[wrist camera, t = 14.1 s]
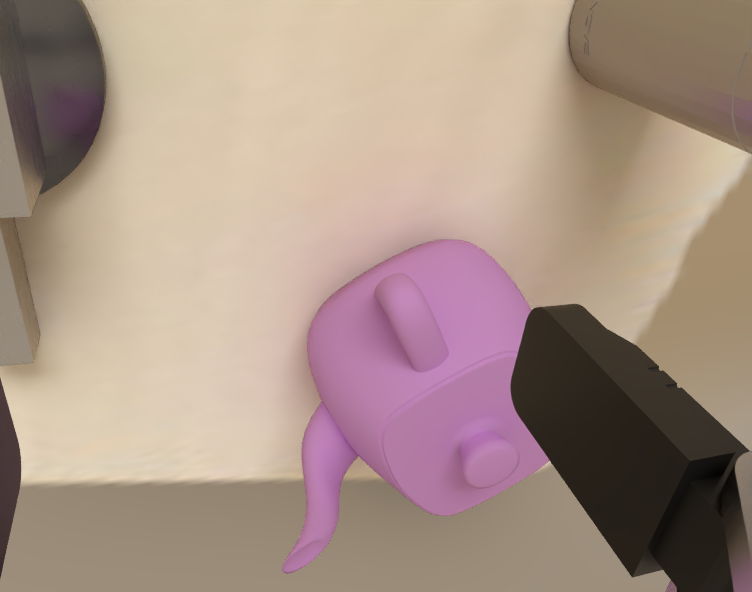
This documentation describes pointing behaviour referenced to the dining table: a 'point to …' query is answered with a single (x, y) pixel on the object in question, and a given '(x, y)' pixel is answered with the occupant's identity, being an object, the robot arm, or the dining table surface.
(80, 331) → the dining table surface
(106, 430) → the dining table surface
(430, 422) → the teapot
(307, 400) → the dining table surface
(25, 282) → the bracket
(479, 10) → the dining table surface
